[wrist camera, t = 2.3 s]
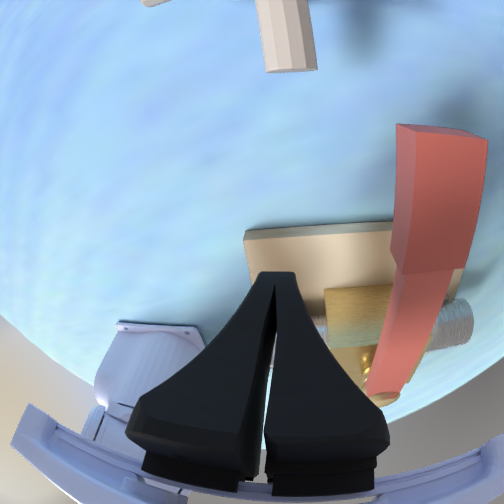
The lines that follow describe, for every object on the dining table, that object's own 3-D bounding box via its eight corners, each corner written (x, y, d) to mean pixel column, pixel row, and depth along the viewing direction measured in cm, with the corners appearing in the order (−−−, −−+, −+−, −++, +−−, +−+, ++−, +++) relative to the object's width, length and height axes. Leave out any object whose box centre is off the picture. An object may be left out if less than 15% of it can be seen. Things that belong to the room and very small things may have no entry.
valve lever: (393, 389, 14) (396, 407, 13) (355, 394, 15) (357, 413, 14) (463, 129, 6) (487, 140, 5) (395, 123, 6) (415, 132, 5)
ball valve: (264, 336, 22) (255, 406, 17) (254, 286, 19) (240, 365, 14) (440, 320, 19) (463, 380, 14) (458, 270, 16) (495, 334, 11)
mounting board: (270, 358, 25) (269, 368, 24) (245, 230, 18) (242, 240, 17) (425, 343, 22) (428, 352, 21) (467, 218, 15) (475, 226, 14)
